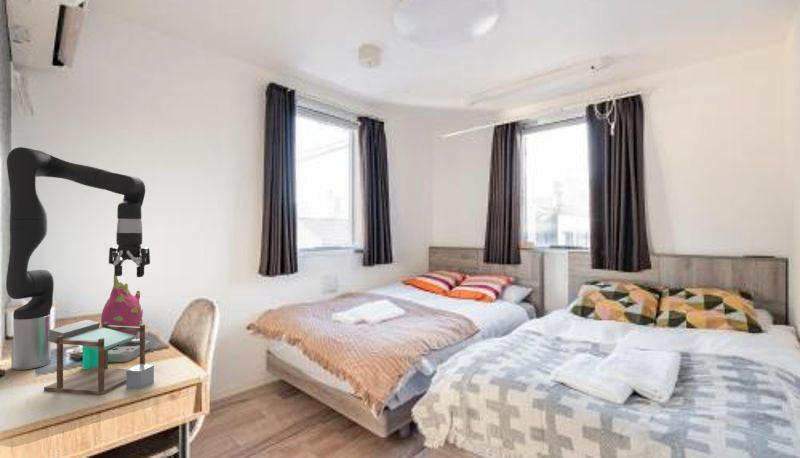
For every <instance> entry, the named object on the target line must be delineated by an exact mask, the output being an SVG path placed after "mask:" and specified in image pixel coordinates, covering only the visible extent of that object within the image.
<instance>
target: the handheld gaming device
mask: <svg viewBox="0 0 800 458" xmlns="http://www.w3.org/2000/svg"><path fill="white" fill-rule="evenodd" d="M150 349H151V340H145V352H146V351H148V350H150ZM138 356H140V340H132V341H127V342H125V343H123V344H121V345H119V346H114V347H112V348H110V349H108V363H125V362H129V361H131V360H133V359H135V358H136V357H138Z"/></svg>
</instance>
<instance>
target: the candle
mask: <svg viewBox="0 0 800 458" xmlns="http://www.w3.org/2000/svg"><path fill="white" fill-rule="evenodd" d="M92 367H98V350H97V349H93V348H89V347H85V346H82V369H83V370H87V369H90V368H92Z"/></svg>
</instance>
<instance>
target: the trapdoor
mask: <svg viewBox="0 0 800 458" xmlns="http://www.w3.org/2000/svg"><path fill="white" fill-rule="evenodd" d="M100 325H101V322H100V321H94V320H90V319H85V320H81V321H76V322H74V323H70V324H65V325H63V326H58V327H55V328H51V330H50V331H49V337H48V341H49V342H51V343H54V344H55V340H56V339H57V336H63V339H64V338H67V337H70V336H74V335H77V334H80V333H84V332H87V331H90V330H93V329H97V328H100ZM100 338H104V350H106V349H108V350H110V349H112V348H115V347H117V345H119V344H122V343H125V342H127V341H130V340H132V341H134V340H136V335H132V334H128V333H124V332H120V331H116V330H111V329H107V328H101V329H98V330H95V331H91V332H88V333H85V334H82V335H78V336H75V337H72V338H69V339H74V340H91V341H98V339H100ZM80 346H82V347H83V346H85V347H89V348H93V349H97V350H98V346H86V345H80Z"/></svg>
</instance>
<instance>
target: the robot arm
mask: <svg viewBox="0 0 800 458" xmlns="http://www.w3.org/2000/svg"><path fill="white" fill-rule="evenodd" d="M6 168H7V169H6V170H7V175H8V176H7V177H8V182H9V183H8V185H9V202H10V203H9V205H10V207H9V212H10V213H9V257H8V258H9V259H8V265H7V272H6V280H5V287H6V293H7V295H8V296H9V297H10V298H11V299H12V300H20V299H21V300H22V299H28V298H31V299H30V301H28V302H27V303H26V304H23V305H22V306H20V307H18V308H16V309H14V311H13V318H12V319H13V325H12V326H13V339H11V343H10V346H11V352H10V355H11V356H10V357H11V362H10V364H11V368H13V370H17V371H22V370H23V371H25V370H31V369H36V368H39V367H40V368H41V367H43V366H46V365H48V364H50V363H51V350H52V349H51V343H52V342H49V341H48V337H49V331H50V330H51V329H52V328H51V310H52V307H53V300H54V288H55V287H54V277H53V274H52V272H50V271H49V270H47V269H36V270H35V269H34V270H33V269H32V270H28V268H29V261H30V258H31V256H32V255H33V253H34V252H35V251H36V249H37V248H38V247H39V246H40V244H42V242H43V241H44V240H45V238H46V236H47V234H48V213H47V210H46V208H45V205H44V203H43V202H42V201H41V199H40V196H39V195H38V191H37V186H36V185H37V182H36V181H37V179H36V178H37V177H38V178H40V177H44V178H45V177H46V178H57V179H63V180H68V181H71V182H74V183H77V184H80V185H82V186H86V187H90V188H95V189H97V190H98V189H99V190H106V191H109V192H111V193H114V194H118V195H123V201H122V202H119V203H118V205H117V214H116V215H117V216H116V217H117V220H116V236H115V237H116V238H115V239H116V241H115V243H116V245H117V246H115V247H114V246H113V247H109V249H108V250H109V252H108V264H109V265H113V267H114V273H115V276H117V277H122V276H123V265H122V264H123V263H124V262H126V260H128V261H132V262H133V263H134V264H135V265H136V277H137V278H142V277H144V275H145V267H146V266H148V265H150V264H151V258H150V257H151V256H150V255H151V253H150V248H149V247H142V246H141V245H142V244H143V222H142V206H143V204H144V199H145V195H146V185H145V183H144V181H143V180H142V179H141V178H140V177H137V176H132V175H127V174H121V173H117V172H112V171H110V170H107V169H103V168H99V167H94V166H90V165H85V164H79V163H74V162H70V161H66V160H64V159H61V158H58V157H56V156H54V155H52V154H48V153H46V152H44V151H41V150H39V149H33V148H28V147H21V146H20V147H14V148H12V149H11V151H10V152H9V153H8V155H7V157H6ZM114 273H113V274H114Z"/></svg>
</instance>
